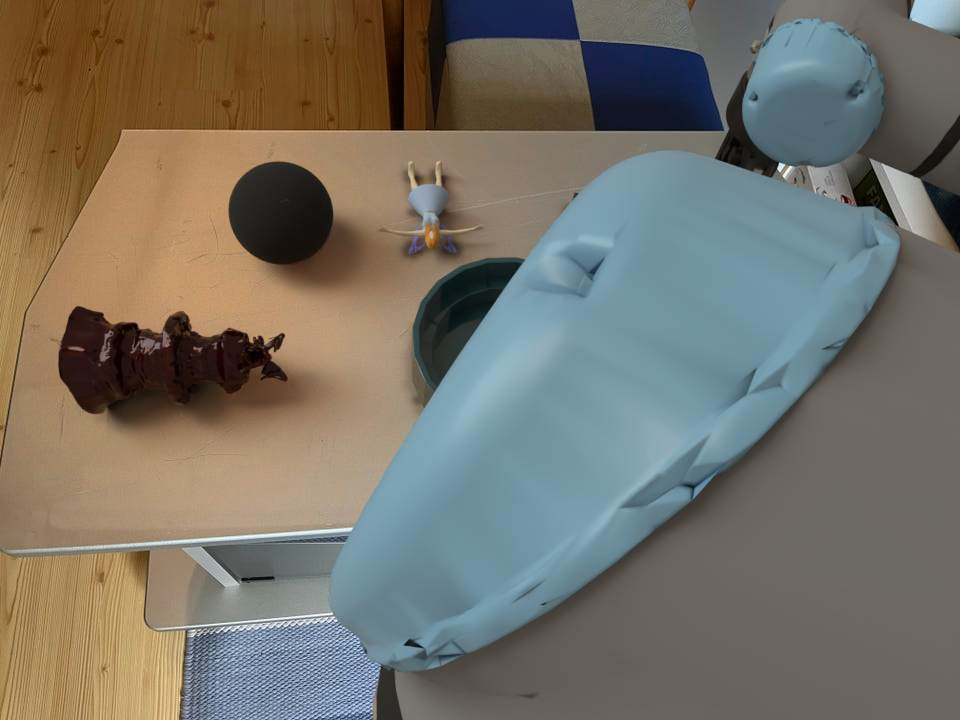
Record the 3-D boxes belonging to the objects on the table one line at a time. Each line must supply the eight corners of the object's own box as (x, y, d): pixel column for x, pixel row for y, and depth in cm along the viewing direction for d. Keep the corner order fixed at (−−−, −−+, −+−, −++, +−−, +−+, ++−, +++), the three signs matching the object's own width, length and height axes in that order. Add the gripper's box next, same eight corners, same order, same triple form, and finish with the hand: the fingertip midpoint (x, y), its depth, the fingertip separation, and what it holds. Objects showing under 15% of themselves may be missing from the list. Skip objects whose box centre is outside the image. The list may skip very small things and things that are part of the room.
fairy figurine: (477, 149, 82) (490, 229, 75) (473, 182, 86) (486, 261, 79) (372, 150, 80) (375, 231, 74) (373, 184, 84) (377, 264, 78)
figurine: (104, 391, 72) (295, 384, 75) (65, 434, 62) (286, 424, 65) (89, 291, 69) (289, 289, 71) (46, 320, 59) (279, 316, 62)
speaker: (354, 258, 78) (349, 195, 69) (267, 299, 74) (249, 239, 66) (307, 193, 81) (297, 125, 72) (222, 230, 78) (200, 163, 69)
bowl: (578, 476, 69) (593, 453, 64) (389, 427, 69) (388, 401, 64) (606, 315, 78) (621, 283, 72) (438, 272, 78) (441, 238, 73)
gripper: (748, 15, 61) (659, 200, 82) (736, 148, 54) (642, 314, 75) (837, 37, 61) (725, 217, 82) (837, 173, 54) (715, 333, 75)
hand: (686, 263), depth 78 cm, fingers closed on chopsticks, 2 cm apart
